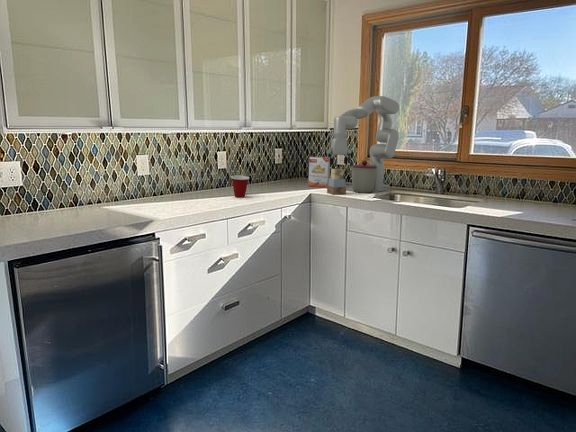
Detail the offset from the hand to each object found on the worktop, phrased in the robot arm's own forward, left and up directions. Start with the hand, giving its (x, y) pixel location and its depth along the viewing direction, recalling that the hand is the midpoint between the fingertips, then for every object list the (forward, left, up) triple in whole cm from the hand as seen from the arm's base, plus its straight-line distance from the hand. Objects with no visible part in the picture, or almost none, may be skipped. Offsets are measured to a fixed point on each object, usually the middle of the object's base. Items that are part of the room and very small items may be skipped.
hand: (338, 164), depth 277 cm
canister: (-21, -5, -19) cm, 29 cm away
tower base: (0, 0, -19) cm, 19 cm away
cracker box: (-2, -35, -19) cm, 40 cm away
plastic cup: (+65, +3, -19) cm, 67 cm away
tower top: (0, -1, -14) cm, 14 cm away
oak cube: (+1, 0, -9) cm, 9 cm away
